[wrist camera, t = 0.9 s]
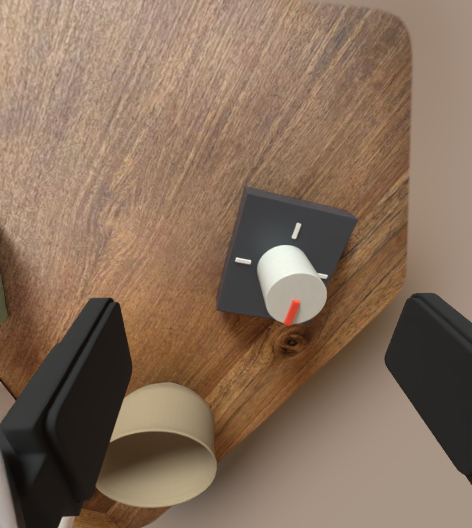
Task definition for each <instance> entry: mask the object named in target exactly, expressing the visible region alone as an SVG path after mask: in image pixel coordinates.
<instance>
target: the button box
mask: <svg viewBox="0 0 472 528" xmlns="http://www.w3.org/2000/svg"><path fill="white" fill-rule="evenodd" d="M7 318H8V315H7V309H6V303H5V297H4V291H3V284H2V278H1V272H0V325H1V324H2V323H3V322H4V321H5V320H6V319H7Z"/></svg>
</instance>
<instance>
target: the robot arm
mask: <svg viewBox="0 0 472 528" xmlns="http://www.w3.org/2000/svg"><path fill="white" fill-rule="evenodd" d="M385 364H386V366H387V368H388V370H389V371H390V372H391V374H392V375H393V377H394V378H395V380H396V381H397V383H398V384H399V385H400V387H401V388H402V390H403V391H404V393H405V394H406V396H407V397H408V399H409V400H410V402H411V403H412V404H413V406H414V407H415V409H416V410H417V412H418V413H419V415H420V416H421V418H422V419H423V420H424V422H425V423H426V425H427V426H428V428H429V429H430V431H431V432H432V433H433V435H434V436H435V438H436V439H437V441H438V442H439V444H440V445H441V447H442V448H443V450H444V451H445V453H446V454H447V455H448V457H449V458H450V460H451V461H452V463H453V464H454V466H455V467H456V468H457V469H458V471H460V472H461V473H462V474H464V475H465V476H466V477H467V479H468V480H469V482H470V483H471V484H472V323H471V322H470V321H469V320H468V319H466V318H465V317H464V316H463V315H461V314H460V313H459V312H458V311H456V310H455V309H454V308H453V307H451V306H450V305H449V304H448V303H446V302H445V301H444V300H443V299H441V298H440V297H439V296H438V295H436V294H434V293H416V294H413V295H412V296H411V297H410V298H408V299H407V300H406V303H405V305H404V308H403V310H402V313H401V315H400V318H399V321H398V323H397V326H396V328H395V331H394V333H393V336H392V339H391V342H390V344H389V346H388V349H387V352H386V354H385ZM131 374H132V361H131V357H130V352H129V347H128V342H127V337H126V332H125V328H124V323H123V318H122V313H121V308H120V304H119V303H118V302H114V301H113V299H112V298H91V299H90V300H89V301H88V303H87V304H86V305H85V307H84V308H83V310H82V311H81V313H80V314H79V316H78V317H77V319H76V320H75V322H74V323H73V324H72V326H71V327H70V329H69V330H68V332H67V333H66V335H65V336H64V338H63V339H62V341H61V342H60V343H58V344H56V345H55V346H54V348H53V349H52V350H51V351H50V353H49V354H48V356H47V357H46V359H45V360H44V361H43V363H42V364H41V366H40V367H39V369H38V370H37V371H36V373H35V374H34V376H33V377H32V379H31V380H30V381H29V383H28V384H27V386H26V387H25V389H24V390H23V391H22V393H21V394H20V396H19V397H18V399H17V400H16V401H15V403H14V404H13V406H12V407H11V409H10V410H9V411H8V413H7V414H6V416H5V417H4V419H3V420H2V421H1V423H0V528H58V527H59V525H60V522H61V519H62V517H70V516H79V514H80V511H81V508H82V505H83V502H84V500H89V499H90V498H91V496H92V494H93V492H94V489H95V486H96V483H97V480H98V477H99V474H100V471H101V468H102V464H103V461H104V458H105V455H106V452H107V449H108V446H109V443H110V440H111V437H112V434H113V430H114V427H115V424H116V421H117V418H118V415H119V412H120V409H121V406H122V403H123V399H124V396H125V393H126V390H127V387H128V384H129V381H130V378H131Z"/></svg>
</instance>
